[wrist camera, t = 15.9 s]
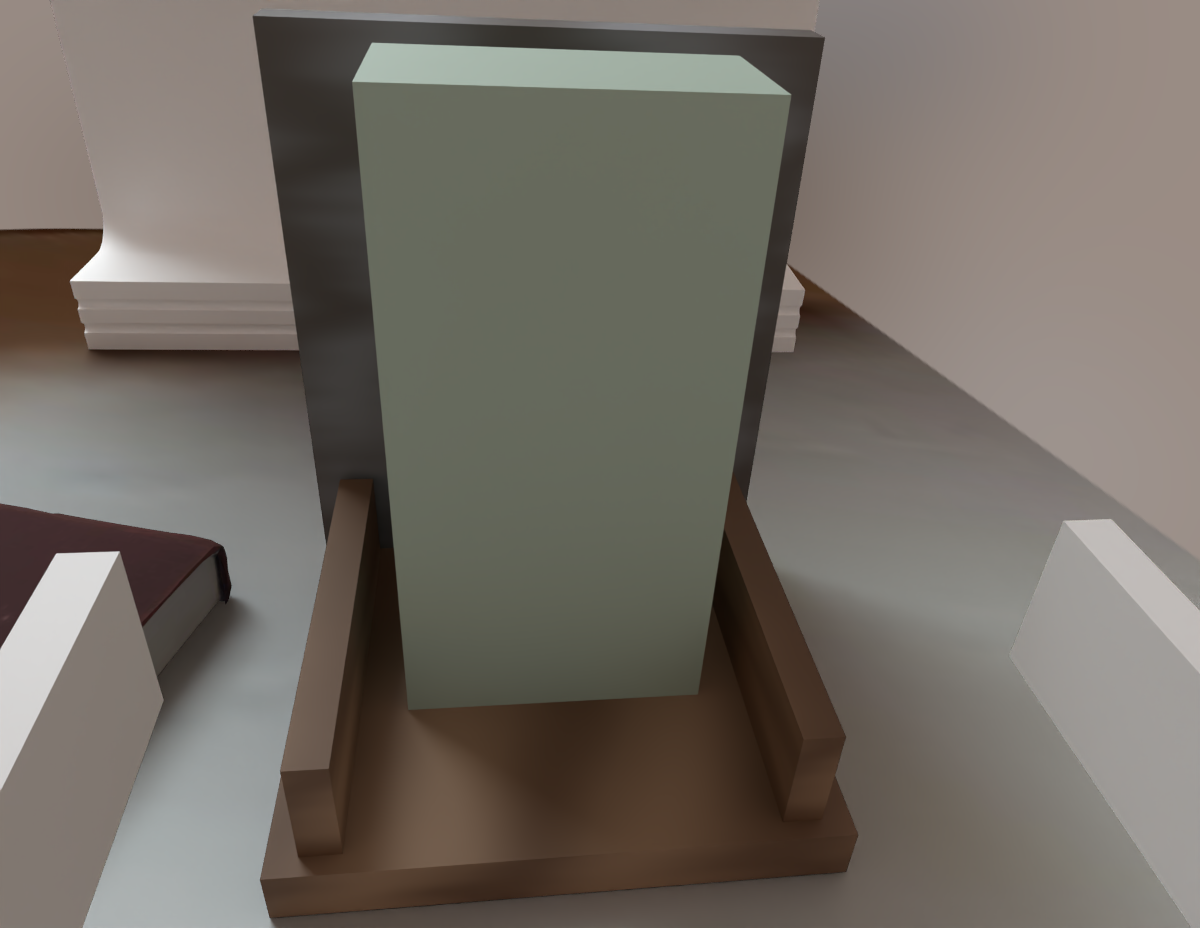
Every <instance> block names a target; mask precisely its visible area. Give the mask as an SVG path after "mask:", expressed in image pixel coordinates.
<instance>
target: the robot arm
mask: <svg viewBox="0 0 1200 928" xmlns="http://www.w3.org/2000/svg"><path fill="white" fill-rule="evenodd" d="M1009 657H1010V659H1011V660H1012V662H1013V663H1014V665H1015V666H1016V668H1017V669H1018V671H1019V672H1020V674H1021V675H1022V677H1023V678H1024V680H1025V681H1026V683H1027V684H1028V686H1029V687H1030V689H1031V690H1032V692H1033V693H1034V695H1035V696H1036V698H1037V699H1038V701H1039V702H1040V704H1041V705H1042V707H1043V708H1044V709H1045V711H1046V712H1047V714H1048V715H1049V717H1050V718H1051V720H1052V721H1053V723H1054V724H1055V726H1056V727H1057V729H1058V730H1059V732H1060V733H1061V735H1062V736H1063V738H1064V739H1065V741H1066V742H1067V744H1068V745H1069V747H1070V748H1071V750H1072V751H1073V753H1074V754H1075V756H1076V757H1077V759H1078V760H1079V762H1080V763H1081V764H1082V766H1083V767H1084V769H1085V770H1086V772H1087V773H1088V775H1089V776H1090V778H1091V779H1092V781H1093V782H1094V784H1095V785H1096V787H1097V788H1098V790H1099V791H1100V793H1101V794H1102V796H1103V797H1104V799H1105V800H1106V802H1107V803H1108V805H1109V806H1110V808H1111V809H1112V811H1113V812H1114V814H1115V815H1116V817H1117V818H1118V819H1119V821H1120V822H1121V824H1122V825H1123V827H1124V828H1125V830H1126V831H1127V833H1128V834H1129V836H1130V837H1131V839H1132V840H1133V842H1134V843H1135V845H1136V846H1137V848H1138V849H1139V851H1140V852H1141V854H1142V855H1143V857H1144V858H1145V860H1146V861H1147V863H1148V864H1149V866H1150V867H1151V869H1152V870H1153V872H1154V873H1155V874H1156V876H1157V877H1158V879H1159V880H1160V882H1161V883H1162V885H1163V886H1164V888H1165V889H1166V891H1167V892H1168V894H1169V895H1170V897H1171V898H1172V900H1173V901H1174V903H1175V904H1176V906H1177V907H1178V909H1179V910H1180V912H1181V913H1182V915H1183V916H1184V918H1185V919H1186V921H1187V922H1188V924H1189V925H1190V927H1191V928H1200V610H1199V609H1198V608H1197V607H1196V606H1195V605H1194V604H1193V603H1192V602H1191V601H1190V600H1189V599H1188V598H1187V597H1186V596H1185V595H1184V594H1183V593H1182V592H1181V591H1180V590H1179V589H1178V588H1177V587H1176V586H1175V585H1174V583H1173V582H1172V581H1171V580H1170V579H1169V578H1168V577H1167V576H1166V575H1165V574H1164V573H1163V572H1162V571H1161V570H1160V569H1159V568H1158V567H1157V566H1156V565H1155V564H1154V563H1153V562H1152V561H1151V560H1150V559H1149V558H1148V557H1147V556H1146V554H1145V553H1144V552H1143V551H1142V550H1141V549H1140V548H1139V547H1138V546H1137V545H1136V544H1135V543H1134V542H1133V541H1132V540H1131V539H1130V538H1129V537H1128V536H1127V535H1126V534H1125V533H1124V532H1123V531H1122V530H1121V529H1120V528H1119V526H1118V525H1117V524H1116V523H1115V522H1114V521H1113V520H1112V519H1100V520H1069V521H1063V523H1062V525H1061V528H1060V530H1059V533H1058V535H1057V538H1056V540H1055V543H1054V545H1053V548H1052V550H1051V553H1050V555H1049V558H1048V560H1047V563H1046V565H1045V567H1044V570H1043V572H1042V575H1041V577H1040V580H1039V582H1038V585H1037V587H1036V590H1035V592H1034V595H1033V597H1032V600H1031V602H1030V605H1029V607H1028V610H1027V612H1026V614H1025V617H1024V619H1023V622H1022V624H1021V627H1020V629H1019V632H1018V634H1017V637H1016V639H1015V642H1014V644H1013V647H1012V649H1011V652H1010V654H1009ZM163 701H164V700H163V696H162V693H161V690H160V686H159V683H158V679H157V676H156V673H155V669H154V666H153V663H152V659H151V656H150V652H149V649H148V646H147V642H146V639H145V636H144V632H143V629H142V625H141V622H140V619H139V615H138V612H137V609H136V605H135V602H134V598H133V595H132V592H131V588H130V585H129V582H128V578H127V575H126V571H125V568H124V565H123V561H122V558H121V555H120V551H118V552H87V553H57V554H56V555H55V557H54V558H53V560H52V562H51V563H50V565H49V567H48V569H47V570H46V572H45V574H44V575H43V577H42V579H41V580H40V582H39V584H38V586H37V587H36V589H35V591H34V592H33V594H32V596H31V598H30V599H29V601H28V603H27V604H26V606H25V608H24V610H23V611H22V613H21V615H20V616H19V618H18V620H17V621H16V623H15V625H14V627H13V628H12V630H11V632H10V633H9V635H8V637H7V639H6V640H5V642H4V644H3V645H2V647H1V649H0V928H82V927H83V924H84V922H85V919H86V916H87V913H88V910H89V908H90V905H91V902H92V899H93V896H94V894H95V891H96V888H97V885H98V882H99V880H100V877H101V874H102V871H103V868H104V866H105V863H106V860H107V857H108V855H109V852H110V849H111V846H112V843H113V841H114V838H115V835H116V832H117V829H118V827H119V824H120V821H121V818H122V815H123V813H124V810H125V807H126V804H127V801H128V799H129V796H130V793H131V790H132V787H133V785H134V782H135V779H136V776H137V773H138V771H139V768H140V765H141V762H142V759H143V757H144V754H145V751H146V748H147V746H148V743H149V740H150V737H151V734H152V732H153V729H154V726H155V723H156V720H157V718H158V715H159V712H160V709H161V706H162V704H163Z"/></svg>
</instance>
